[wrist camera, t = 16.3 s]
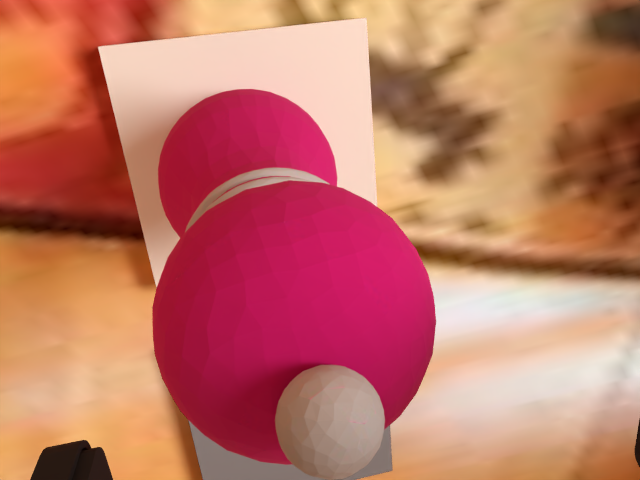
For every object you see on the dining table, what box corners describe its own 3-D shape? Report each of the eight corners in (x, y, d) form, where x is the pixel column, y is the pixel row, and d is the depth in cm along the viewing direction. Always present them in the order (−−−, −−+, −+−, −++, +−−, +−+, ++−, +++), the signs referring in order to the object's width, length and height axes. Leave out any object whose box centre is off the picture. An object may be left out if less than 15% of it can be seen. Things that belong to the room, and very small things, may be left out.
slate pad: (378, 306, 32) (383, 315, 31) (387, 459, 37) (392, 470, 36) (173, 346, 30) (173, 356, 29) (211, 501, 35) (211, 514, 34)
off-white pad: (360, 18, 26) (366, 17, 25) (374, 245, 31) (379, 252, 30) (101, 46, 24) (97, 46, 23) (158, 283, 29) (157, 292, 28)
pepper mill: (196, 245, 27) (195, 687, 9) (139, 106, 24) (-32, 350, 6) (330, 200, 28) (579, 529, 10) (290, 58, 25) (542, 154, 7)
